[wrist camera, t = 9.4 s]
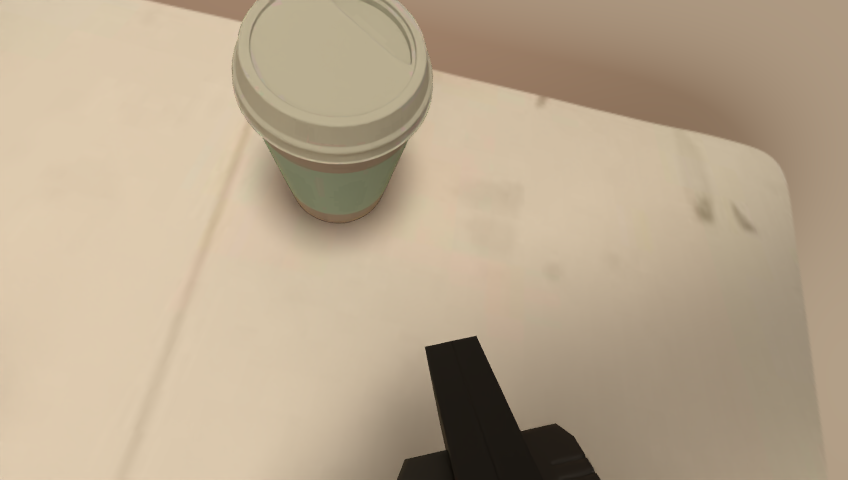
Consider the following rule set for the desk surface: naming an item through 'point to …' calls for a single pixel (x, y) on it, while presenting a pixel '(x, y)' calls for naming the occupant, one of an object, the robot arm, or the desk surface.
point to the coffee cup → (333, 95)
